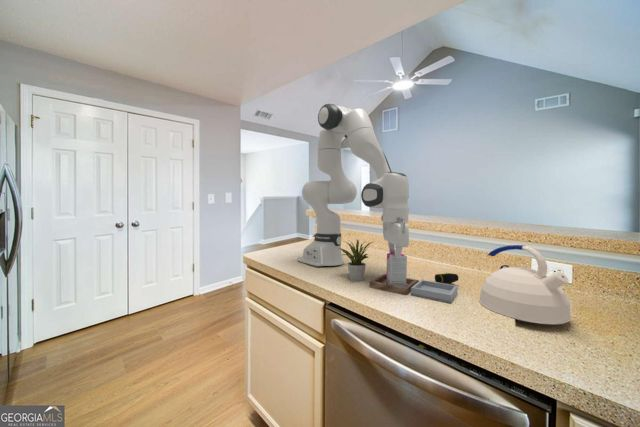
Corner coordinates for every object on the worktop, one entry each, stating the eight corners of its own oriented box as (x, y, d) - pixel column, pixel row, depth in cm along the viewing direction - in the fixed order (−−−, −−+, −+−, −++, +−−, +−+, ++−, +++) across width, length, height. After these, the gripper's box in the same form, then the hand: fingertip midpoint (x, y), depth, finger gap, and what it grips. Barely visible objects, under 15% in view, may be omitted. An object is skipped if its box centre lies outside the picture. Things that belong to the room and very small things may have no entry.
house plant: (364, 273, 110) (364, 235, 109) (384, 281, 97) (384, 239, 96) (334, 276, 104) (334, 236, 104) (351, 285, 91) (351, 240, 91)
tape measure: (460, 283, 91) (458, 272, 92) (445, 285, 89) (443, 274, 90) (446, 282, 97) (444, 272, 98) (432, 285, 95) (430, 274, 96)
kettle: (536, 330, 59) (537, 253, 59) (462, 299, 79) (464, 241, 79) (593, 320, 65) (595, 249, 64) (511, 293, 85) (512, 239, 84)
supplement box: (406, 288, 88) (407, 256, 88) (389, 288, 88) (390, 256, 88) (401, 283, 94) (402, 253, 94) (385, 283, 94) (386, 252, 94)
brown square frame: (369, 287, 90) (369, 281, 90) (384, 279, 100) (384, 274, 100) (406, 295, 82) (406, 289, 82) (418, 285, 92) (418, 279, 92)
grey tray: (411, 295, 82) (411, 287, 82) (421, 286, 91) (421, 279, 91) (450, 303, 75) (451, 295, 75) (457, 293, 84) (457, 285, 84)
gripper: (414, 218, 80) (413, 262, 81) (396, 216, 101) (395, 251, 101) (394, 218, 80) (393, 261, 81) (380, 216, 101) (379, 250, 101)
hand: (394, 255), depth 91 cm, fingers closed on supplement box, 6 cm apart
